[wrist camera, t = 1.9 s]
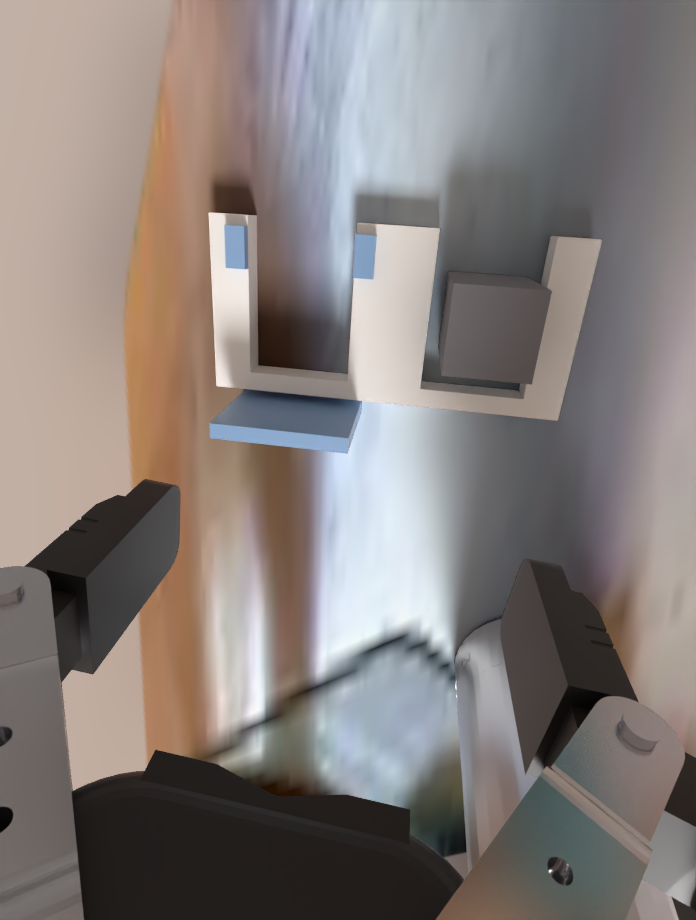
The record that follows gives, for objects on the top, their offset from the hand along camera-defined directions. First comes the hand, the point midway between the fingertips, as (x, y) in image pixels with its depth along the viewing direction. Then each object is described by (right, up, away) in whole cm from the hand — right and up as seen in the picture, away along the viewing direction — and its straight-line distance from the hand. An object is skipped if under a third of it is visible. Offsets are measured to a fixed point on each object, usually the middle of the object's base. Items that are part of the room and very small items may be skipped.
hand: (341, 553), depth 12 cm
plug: (+7, +10, +16) cm, 20 cm away
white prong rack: (+2, +9, +17) cm, 19 cm away
